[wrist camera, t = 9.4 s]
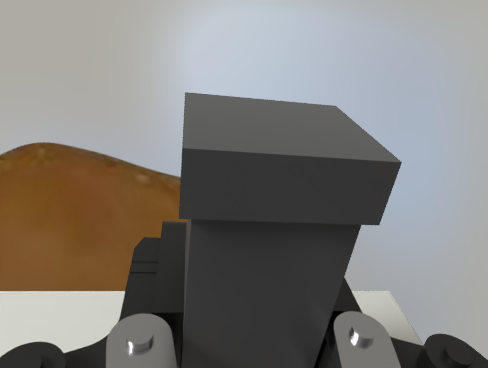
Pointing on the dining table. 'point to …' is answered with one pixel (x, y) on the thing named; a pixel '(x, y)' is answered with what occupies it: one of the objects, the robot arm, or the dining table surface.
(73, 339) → the breaker panel
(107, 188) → the dining table surface
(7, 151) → the dining table surface
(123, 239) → the dining table surface
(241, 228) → the handle
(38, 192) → the dining table surface
